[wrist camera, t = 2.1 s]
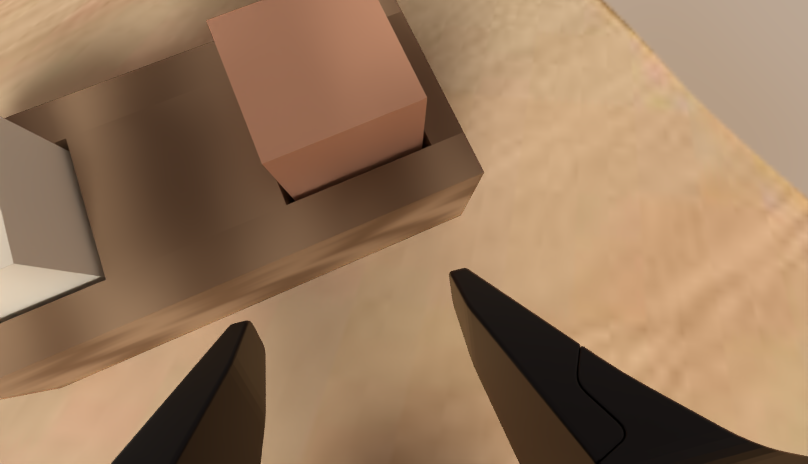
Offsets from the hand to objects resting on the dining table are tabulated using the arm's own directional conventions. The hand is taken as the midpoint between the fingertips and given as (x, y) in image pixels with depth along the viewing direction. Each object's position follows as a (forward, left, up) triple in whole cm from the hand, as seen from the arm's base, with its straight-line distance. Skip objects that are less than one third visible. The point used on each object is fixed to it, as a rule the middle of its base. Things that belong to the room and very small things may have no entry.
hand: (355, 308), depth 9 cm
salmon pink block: (+4, -8, -10) cm, 13 cm away
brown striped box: (+10, -3, -14) cm, 17 cm away
